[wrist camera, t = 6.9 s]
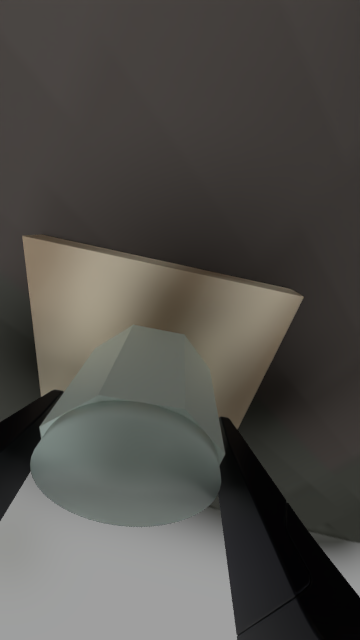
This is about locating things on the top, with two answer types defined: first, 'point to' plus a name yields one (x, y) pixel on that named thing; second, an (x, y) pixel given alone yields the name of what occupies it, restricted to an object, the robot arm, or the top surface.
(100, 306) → the holder
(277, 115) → the top surface
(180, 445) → the cap
